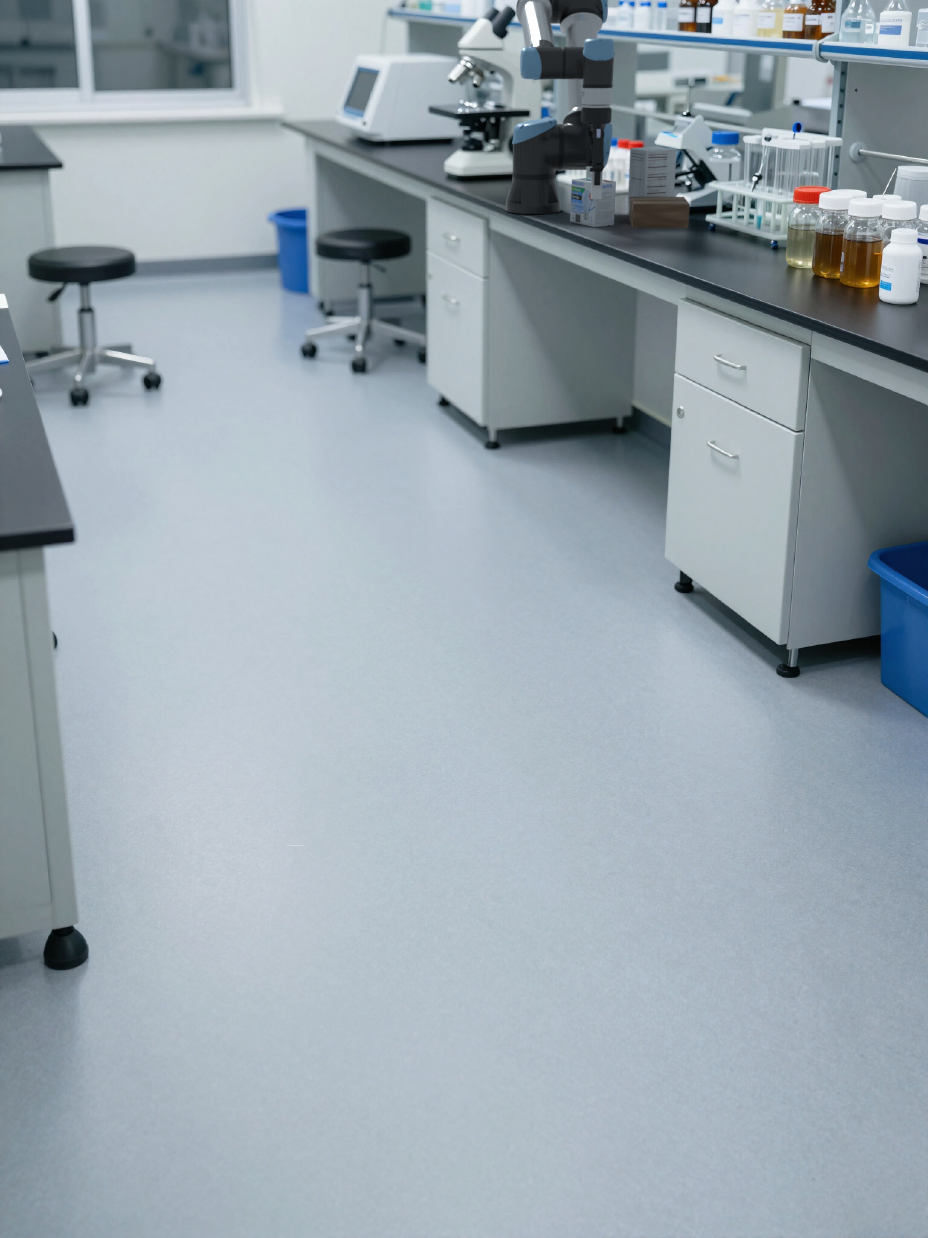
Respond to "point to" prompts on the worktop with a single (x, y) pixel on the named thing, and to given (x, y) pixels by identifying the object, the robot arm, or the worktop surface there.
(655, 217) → the walnut plinth
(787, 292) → the worktop surface
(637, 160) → the supplement box
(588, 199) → the light bulb box
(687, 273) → the worktop surface
